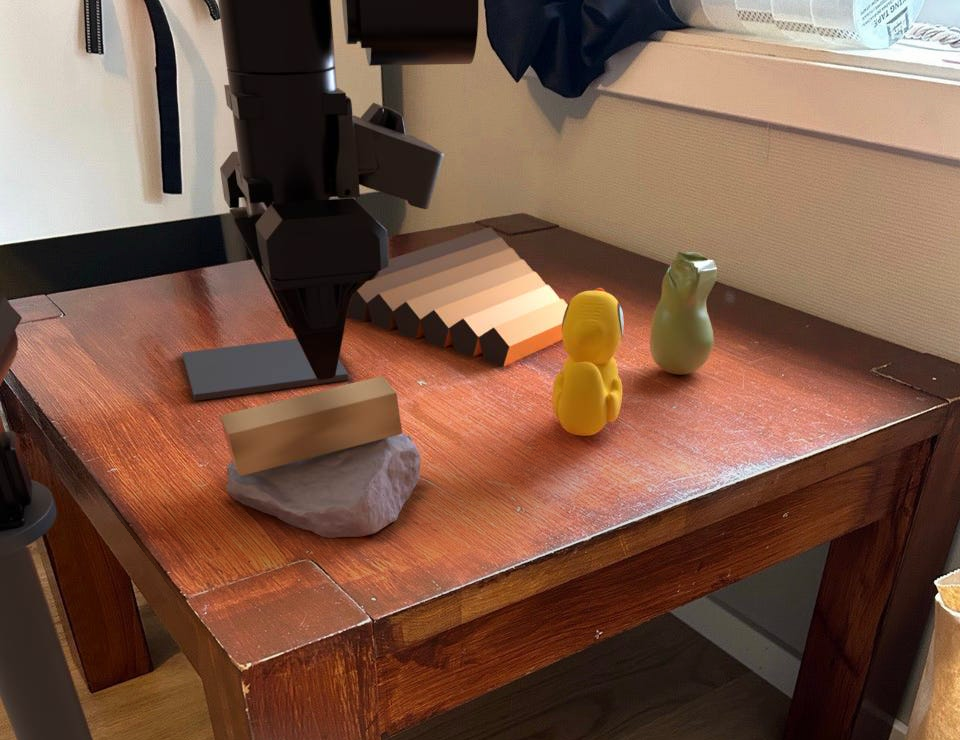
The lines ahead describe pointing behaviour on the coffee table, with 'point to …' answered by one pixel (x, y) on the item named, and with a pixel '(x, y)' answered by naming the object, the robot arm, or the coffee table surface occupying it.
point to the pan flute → (465, 299)
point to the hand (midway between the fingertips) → (310, 351)
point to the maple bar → (311, 425)
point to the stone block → (335, 488)
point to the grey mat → (251, 369)
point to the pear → (684, 315)
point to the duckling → (589, 364)
